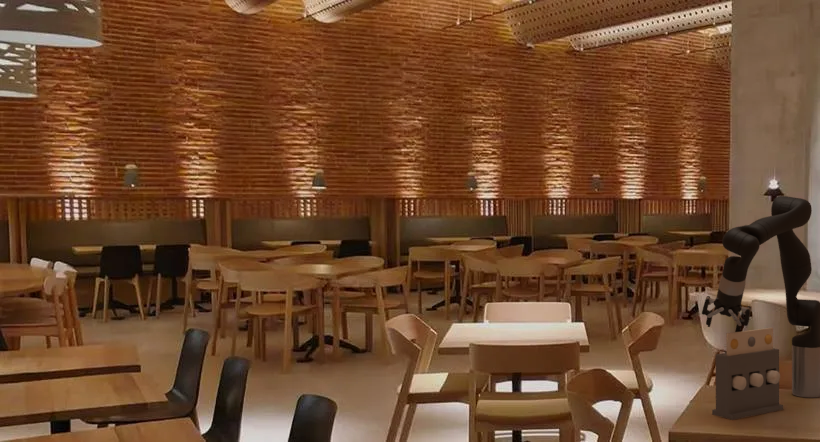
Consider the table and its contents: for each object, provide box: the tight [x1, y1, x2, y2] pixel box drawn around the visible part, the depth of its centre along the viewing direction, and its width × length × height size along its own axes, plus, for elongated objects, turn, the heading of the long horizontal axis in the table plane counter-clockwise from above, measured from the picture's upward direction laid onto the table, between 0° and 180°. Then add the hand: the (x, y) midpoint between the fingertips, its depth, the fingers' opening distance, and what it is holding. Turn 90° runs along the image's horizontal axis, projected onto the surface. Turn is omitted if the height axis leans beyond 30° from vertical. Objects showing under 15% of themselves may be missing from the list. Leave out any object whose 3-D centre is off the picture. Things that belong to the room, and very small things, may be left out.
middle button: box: [749, 372, 764, 387], centre depth 274 cm, size 4×3×4 cm
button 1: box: [732, 375, 746, 390], centre depth 270 cm, size 4×3×4 cm
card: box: [726, 327, 774, 356], centre depth 275 cm, size 21×1×7 cm, turn 119°
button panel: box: [711, 347, 784, 421], centre depth 277 cm, size 24×8×20 cm, turn 119°
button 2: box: [766, 369, 781, 384], centre depth 278 cm, size 4×3×4 cm
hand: (722, 329), depth 277 cm, fingers open, 8 cm apart
